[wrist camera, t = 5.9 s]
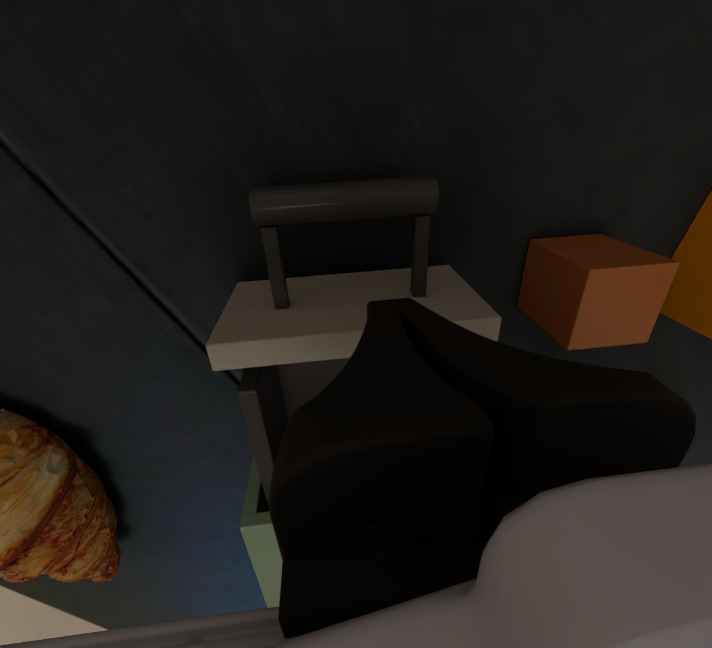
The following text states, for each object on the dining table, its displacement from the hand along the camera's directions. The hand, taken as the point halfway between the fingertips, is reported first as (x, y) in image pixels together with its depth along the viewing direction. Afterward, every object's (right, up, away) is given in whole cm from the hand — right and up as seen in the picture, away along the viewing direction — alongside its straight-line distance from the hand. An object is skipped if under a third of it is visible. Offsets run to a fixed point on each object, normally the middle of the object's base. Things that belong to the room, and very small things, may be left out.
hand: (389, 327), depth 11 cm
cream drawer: (-1, -1, +10) cm, 10 cm away
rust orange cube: (+11, +3, +10) cm, 15 cm away
